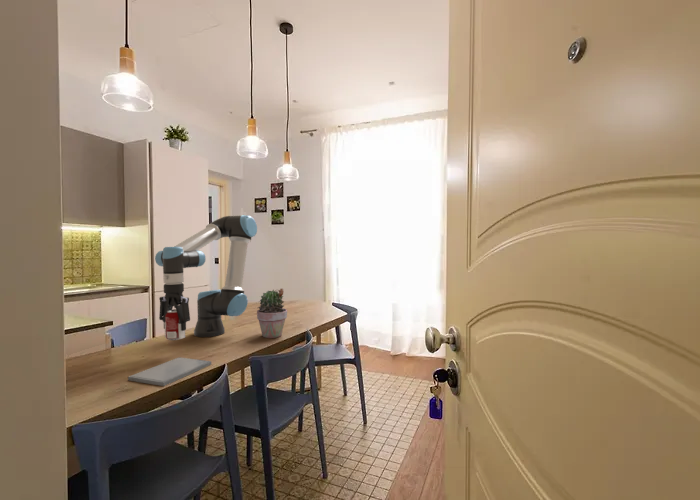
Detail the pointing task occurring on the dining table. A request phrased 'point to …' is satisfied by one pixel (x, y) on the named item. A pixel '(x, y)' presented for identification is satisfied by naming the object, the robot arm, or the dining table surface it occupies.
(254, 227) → the robot arm
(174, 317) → the soda can
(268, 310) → the potted plant
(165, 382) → the slate board
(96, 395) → the dining table surface
